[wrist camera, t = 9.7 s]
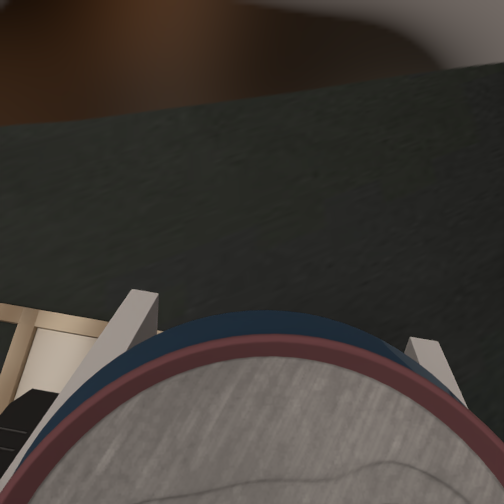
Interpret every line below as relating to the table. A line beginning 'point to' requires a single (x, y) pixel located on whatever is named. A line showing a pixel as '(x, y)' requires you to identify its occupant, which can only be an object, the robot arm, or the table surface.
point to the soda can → (261, 424)
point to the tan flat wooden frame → (44, 350)
